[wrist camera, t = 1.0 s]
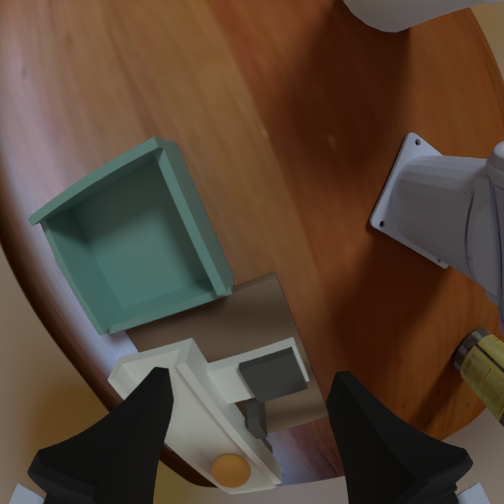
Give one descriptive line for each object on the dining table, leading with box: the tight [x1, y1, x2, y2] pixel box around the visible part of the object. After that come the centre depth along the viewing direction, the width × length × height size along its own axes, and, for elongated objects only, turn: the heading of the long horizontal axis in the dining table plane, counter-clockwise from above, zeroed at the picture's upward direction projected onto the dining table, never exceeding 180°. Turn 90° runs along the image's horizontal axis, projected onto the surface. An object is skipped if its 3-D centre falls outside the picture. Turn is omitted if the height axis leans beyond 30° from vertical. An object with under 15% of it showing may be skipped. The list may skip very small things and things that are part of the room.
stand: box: [125, 272, 329, 452], centre depth 20 cm, size 17×13×8 cm
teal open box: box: [28, 137, 234, 335], centre depth 17 cm, size 10×10×5 cm
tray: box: [108, 337, 309, 495], centre depth 17 cm, size 16×11×5 cm, turn 21°
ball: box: [212, 454, 251, 488], centre depth 16 cm, size 3×3×3 cm
